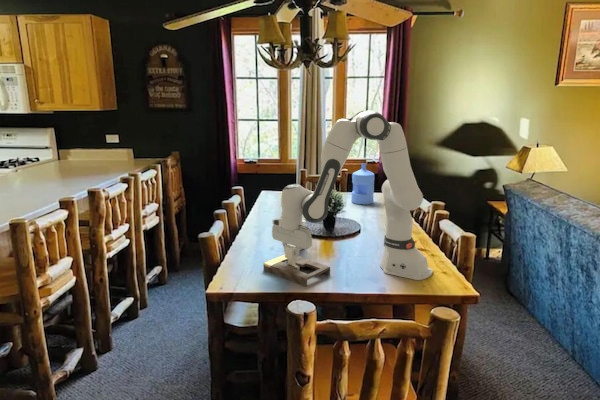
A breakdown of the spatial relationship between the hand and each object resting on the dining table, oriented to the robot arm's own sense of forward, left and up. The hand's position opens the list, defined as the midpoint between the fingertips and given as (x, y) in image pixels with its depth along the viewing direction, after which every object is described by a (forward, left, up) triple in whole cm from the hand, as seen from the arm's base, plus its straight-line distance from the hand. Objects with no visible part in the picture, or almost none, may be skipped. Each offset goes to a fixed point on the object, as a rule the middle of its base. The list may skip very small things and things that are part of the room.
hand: (291, 253), depth 179 cm
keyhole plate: (-3, 0, -8) cm, 8 cm away
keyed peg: (0, 0, -7) cm, 7 cm away
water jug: (+45, -123, -8) cm, 131 cm away
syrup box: (+16, -22, -8) cm, 29 cm away
